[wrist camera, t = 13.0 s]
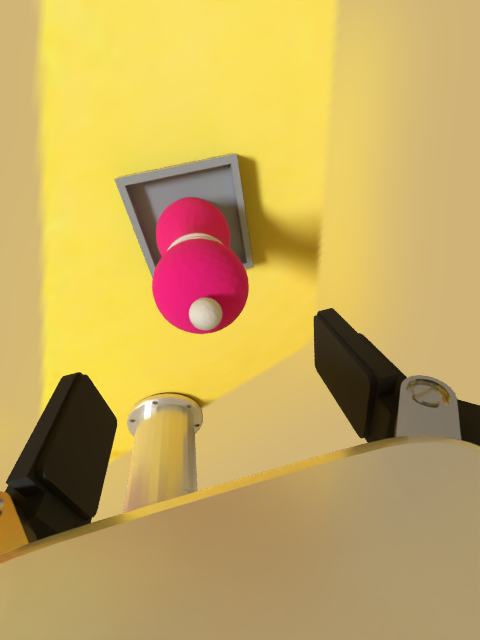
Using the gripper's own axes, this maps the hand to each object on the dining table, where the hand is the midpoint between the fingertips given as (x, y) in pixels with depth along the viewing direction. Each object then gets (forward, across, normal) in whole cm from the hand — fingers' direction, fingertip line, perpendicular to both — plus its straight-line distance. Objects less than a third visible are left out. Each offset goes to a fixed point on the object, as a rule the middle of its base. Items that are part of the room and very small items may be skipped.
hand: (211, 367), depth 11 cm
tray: (+24, 0, -1) cm, 24 cm away
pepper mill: (+23, 0, -1) cm, 23 cm away
